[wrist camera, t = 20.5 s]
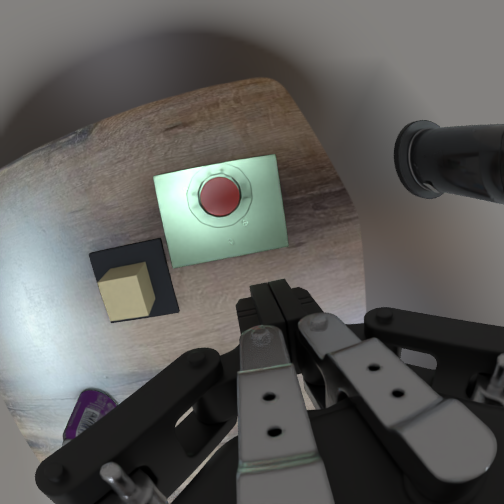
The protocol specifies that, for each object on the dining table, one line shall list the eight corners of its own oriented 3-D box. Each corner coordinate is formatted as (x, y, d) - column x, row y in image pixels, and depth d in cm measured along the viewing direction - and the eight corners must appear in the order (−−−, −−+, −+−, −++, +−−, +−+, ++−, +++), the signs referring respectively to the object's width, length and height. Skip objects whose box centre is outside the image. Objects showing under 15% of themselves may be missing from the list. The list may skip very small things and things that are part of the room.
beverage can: (73, 392, 40) (50, 440, 29) (101, 383, 40) (80, 435, 29) (98, 419, 43) (82, 468, 31) (126, 412, 43) (113, 465, 31)
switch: (234, 173, 32) (236, 173, 30) (241, 209, 33) (242, 212, 31) (197, 180, 31) (197, 181, 30) (204, 216, 32) (204, 219, 31)
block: (145, 261, 36) (136, 275, 31) (155, 298, 37) (148, 315, 33) (110, 268, 36) (97, 282, 31) (120, 304, 37) (110, 321, 32)
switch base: (271, 154, 35) (278, 153, 31) (284, 242, 38) (292, 250, 34) (156, 175, 34) (149, 176, 30) (174, 263, 37) (171, 273, 33)
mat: (160, 237, 36) (160, 238, 35) (179, 310, 39) (179, 312, 38) (90, 253, 35) (88, 254, 35) (112, 321, 38) (111, 323, 37)
